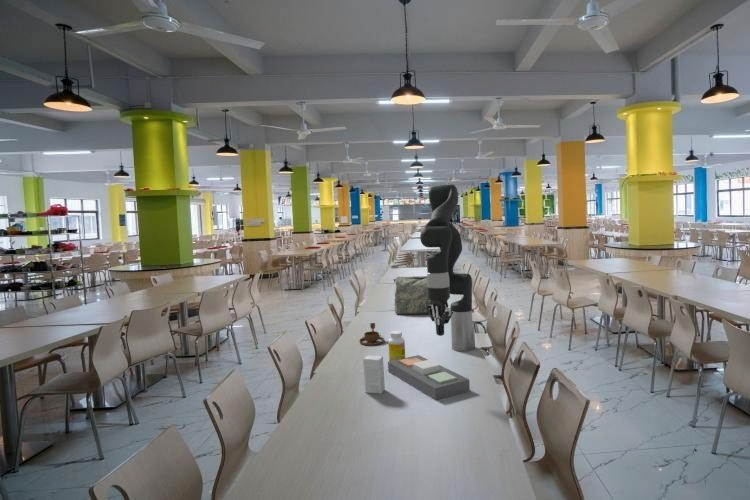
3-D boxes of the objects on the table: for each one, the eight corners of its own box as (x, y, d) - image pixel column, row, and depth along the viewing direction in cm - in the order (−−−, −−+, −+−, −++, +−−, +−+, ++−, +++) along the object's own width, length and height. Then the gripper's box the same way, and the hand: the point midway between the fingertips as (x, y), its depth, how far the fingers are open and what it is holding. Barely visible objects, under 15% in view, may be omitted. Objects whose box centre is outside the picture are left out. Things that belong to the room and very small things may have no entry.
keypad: (419, 364, 187) (418, 355, 187) (469, 390, 159) (469, 379, 159) (388, 371, 181) (387, 361, 181) (435, 400, 153) (434, 388, 152)
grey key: (428, 367, 174) (428, 359, 174) (439, 373, 168) (439, 364, 168) (412, 371, 171) (412, 363, 171) (423, 377, 165) (422, 368, 165)
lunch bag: (438, 308, 289) (437, 273, 287) (437, 314, 271) (436, 277, 269) (396, 308, 293) (395, 274, 291) (393, 315, 275) (391, 278, 273)
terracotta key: (414, 364, 183) (414, 356, 183) (424, 369, 177) (424, 361, 177) (399, 367, 180) (398, 360, 180) (408, 373, 174) (408, 365, 174)
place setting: (349, 344, 222) (348, 332, 222) (371, 333, 239) (370, 322, 239) (381, 348, 213) (380, 336, 212) (401, 337, 230) (401, 325, 229)
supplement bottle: (404, 365, 187) (402, 334, 186) (388, 365, 188) (386, 334, 187) (406, 360, 193) (405, 330, 192) (390, 360, 195) (389, 330, 194)
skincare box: (385, 389, 164) (383, 356, 163) (381, 394, 160) (379, 360, 159) (368, 388, 166) (367, 355, 165) (364, 392, 162) (362, 358, 161)
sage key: (444, 379, 166) (444, 371, 165) (456, 386, 159) (456, 377, 159) (428, 384, 162) (427, 375, 162) (439, 390, 156) (439, 381, 156)
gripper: (459, 286, 154) (461, 337, 156) (436, 281, 166) (438, 329, 168) (440, 289, 151) (442, 341, 153) (418, 284, 163) (420, 332, 164)
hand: (440, 334), depth 160 cm, fingers closed
